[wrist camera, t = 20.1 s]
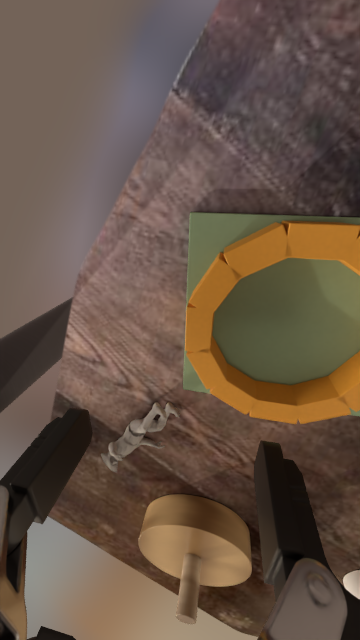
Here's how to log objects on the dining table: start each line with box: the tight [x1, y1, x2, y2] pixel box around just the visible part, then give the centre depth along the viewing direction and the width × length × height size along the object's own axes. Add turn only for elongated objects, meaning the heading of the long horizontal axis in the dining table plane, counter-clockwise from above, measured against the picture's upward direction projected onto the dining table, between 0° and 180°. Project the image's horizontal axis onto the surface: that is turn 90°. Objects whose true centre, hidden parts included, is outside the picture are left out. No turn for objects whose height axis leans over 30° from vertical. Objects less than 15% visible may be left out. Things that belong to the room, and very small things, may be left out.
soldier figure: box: [101, 402, 180, 472], centre depth 29 cm, size 8×5×12 cm
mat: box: [183, 212, 360, 416], centre depth 21 cm, size 18×18×1 cm
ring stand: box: [139, 494, 252, 624], centre depth 35 cm, size 17×17×10 cm
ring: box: [185, 221, 360, 424], centre depth 20 cm, size 17×17×3 cm
